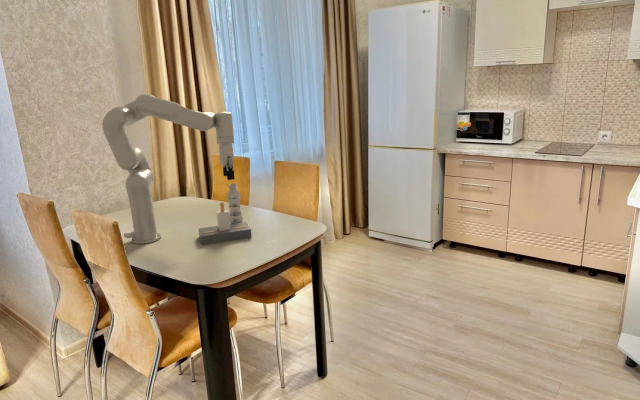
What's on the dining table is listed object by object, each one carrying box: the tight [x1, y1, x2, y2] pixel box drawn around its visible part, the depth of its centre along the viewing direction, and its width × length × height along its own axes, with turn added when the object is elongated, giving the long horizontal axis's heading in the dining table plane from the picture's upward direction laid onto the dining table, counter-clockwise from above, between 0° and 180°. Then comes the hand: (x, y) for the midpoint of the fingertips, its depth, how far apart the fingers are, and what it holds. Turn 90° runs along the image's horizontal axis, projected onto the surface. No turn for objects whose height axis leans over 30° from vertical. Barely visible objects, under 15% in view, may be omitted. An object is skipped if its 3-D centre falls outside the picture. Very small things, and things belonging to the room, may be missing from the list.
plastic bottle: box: [226, 183, 244, 224], centre depth 218 cm, size 6×7×20 cm
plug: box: [216, 201, 231, 231], centre depth 200 cm, size 5×4×16 cm
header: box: [198, 221, 253, 246], centre depth 201 cm, size 22×12×4 cm, turn 110°
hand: (229, 177), depth 202 cm, fingers open, 9 cm apart
